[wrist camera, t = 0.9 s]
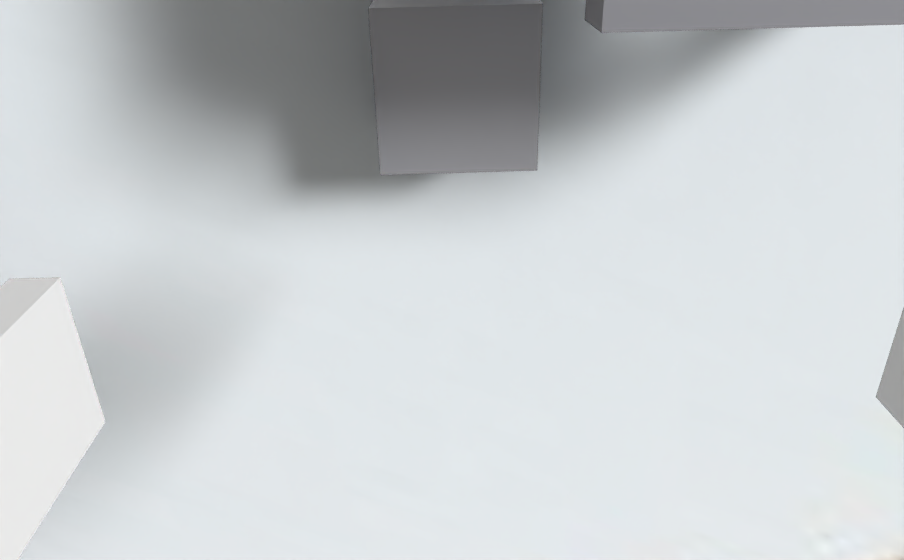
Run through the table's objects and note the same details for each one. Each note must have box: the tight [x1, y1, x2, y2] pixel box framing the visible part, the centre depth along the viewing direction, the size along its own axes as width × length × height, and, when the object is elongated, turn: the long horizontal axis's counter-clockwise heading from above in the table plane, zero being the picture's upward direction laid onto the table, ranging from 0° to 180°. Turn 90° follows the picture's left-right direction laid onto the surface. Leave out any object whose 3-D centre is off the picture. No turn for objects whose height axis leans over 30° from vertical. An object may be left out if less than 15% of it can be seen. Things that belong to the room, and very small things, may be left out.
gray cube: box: [368, 0, 543, 175], centre depth 29 cm, size 6×6×6 cm
